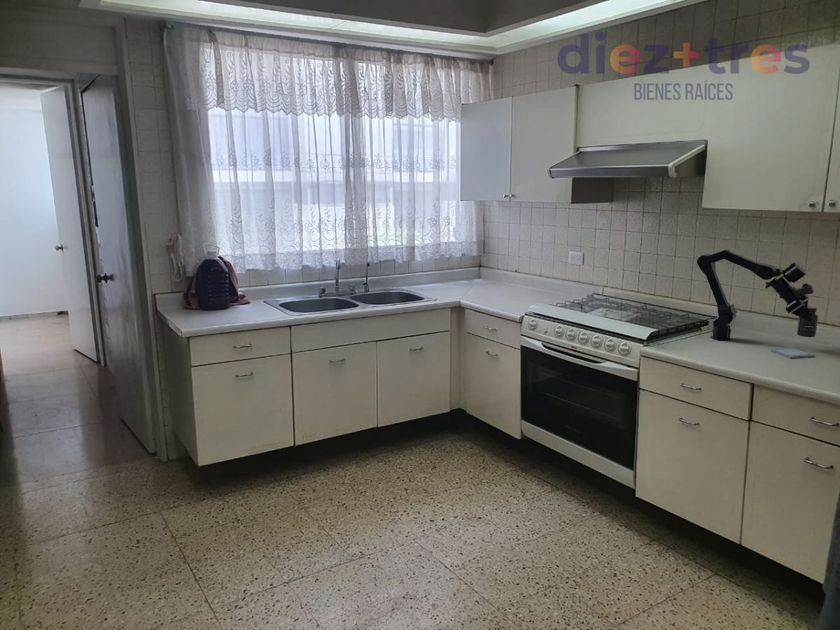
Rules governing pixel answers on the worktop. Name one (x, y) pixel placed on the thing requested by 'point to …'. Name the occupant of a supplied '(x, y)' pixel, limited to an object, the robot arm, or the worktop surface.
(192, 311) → the worktop surface
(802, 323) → the supplement bottle
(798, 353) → the plate
